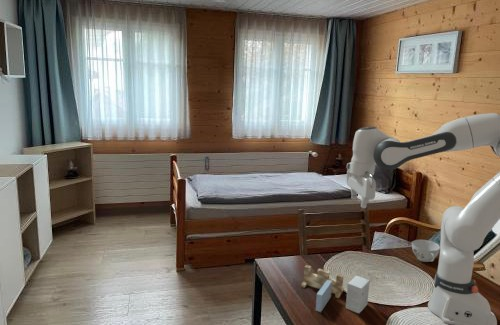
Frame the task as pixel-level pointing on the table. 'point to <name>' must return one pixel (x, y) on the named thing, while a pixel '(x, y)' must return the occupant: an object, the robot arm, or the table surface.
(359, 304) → the small box
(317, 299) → the blue slat
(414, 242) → the teacup
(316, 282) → the pine rail
